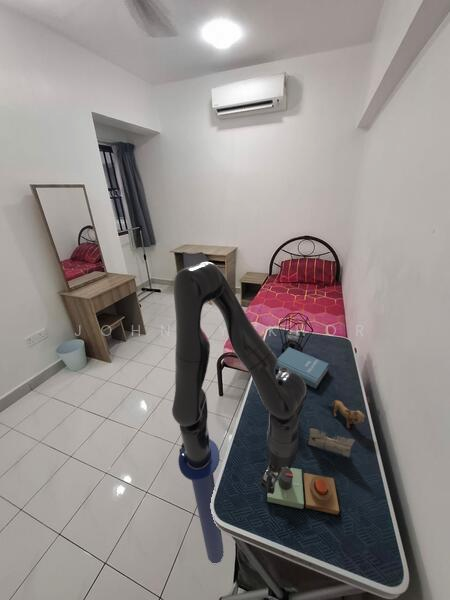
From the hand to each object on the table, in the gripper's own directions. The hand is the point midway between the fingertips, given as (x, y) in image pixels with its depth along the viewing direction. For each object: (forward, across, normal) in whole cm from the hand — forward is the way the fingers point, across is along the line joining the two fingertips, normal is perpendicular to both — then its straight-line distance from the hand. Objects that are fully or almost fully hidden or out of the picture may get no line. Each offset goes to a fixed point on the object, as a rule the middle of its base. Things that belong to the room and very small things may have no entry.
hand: (279, 477), depth 67 cm
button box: (+17, -13, +8) cm, 22 cm away
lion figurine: (+17, -45, +3) cm, 49 cm away
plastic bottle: (+17, -34, -21) cm, 44 cm away
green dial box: (+17, -6, -1) cm, 18 cm away
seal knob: (+14, -7, -1) cm, 15 cm away
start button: (+13, -13, +8) cm, 20 cm away
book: (+17, -59, -26) cm, 67 cm away
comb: (+17, -28, +4) cm, 33 cm away
